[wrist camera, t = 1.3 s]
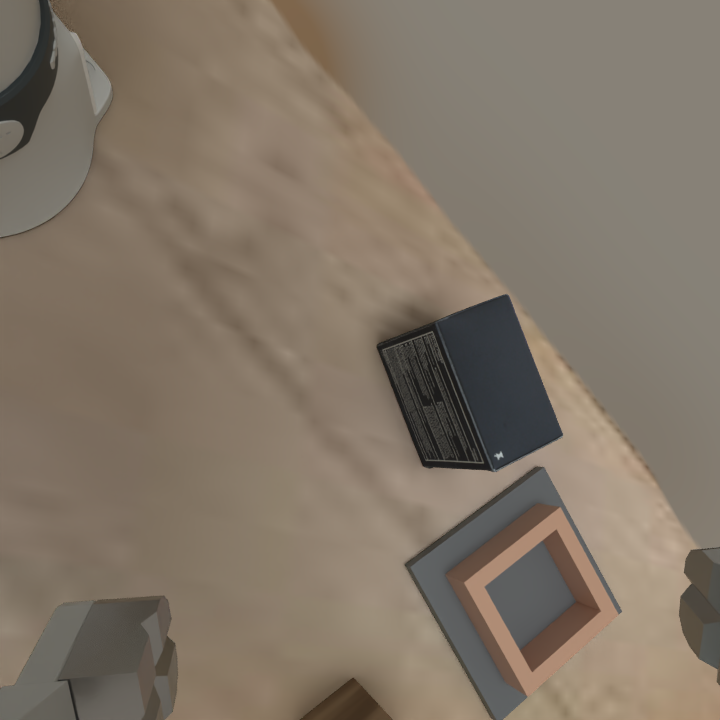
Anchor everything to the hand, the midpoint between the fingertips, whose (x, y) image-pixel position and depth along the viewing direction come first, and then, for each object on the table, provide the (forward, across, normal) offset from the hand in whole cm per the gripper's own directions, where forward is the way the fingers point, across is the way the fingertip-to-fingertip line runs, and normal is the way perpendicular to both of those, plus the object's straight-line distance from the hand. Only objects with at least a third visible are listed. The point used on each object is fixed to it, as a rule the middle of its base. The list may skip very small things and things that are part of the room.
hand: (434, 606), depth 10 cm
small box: (+40, -8, +12) cm, 43 cm away
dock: (+35, -13, +27) cm, 46 cm away
